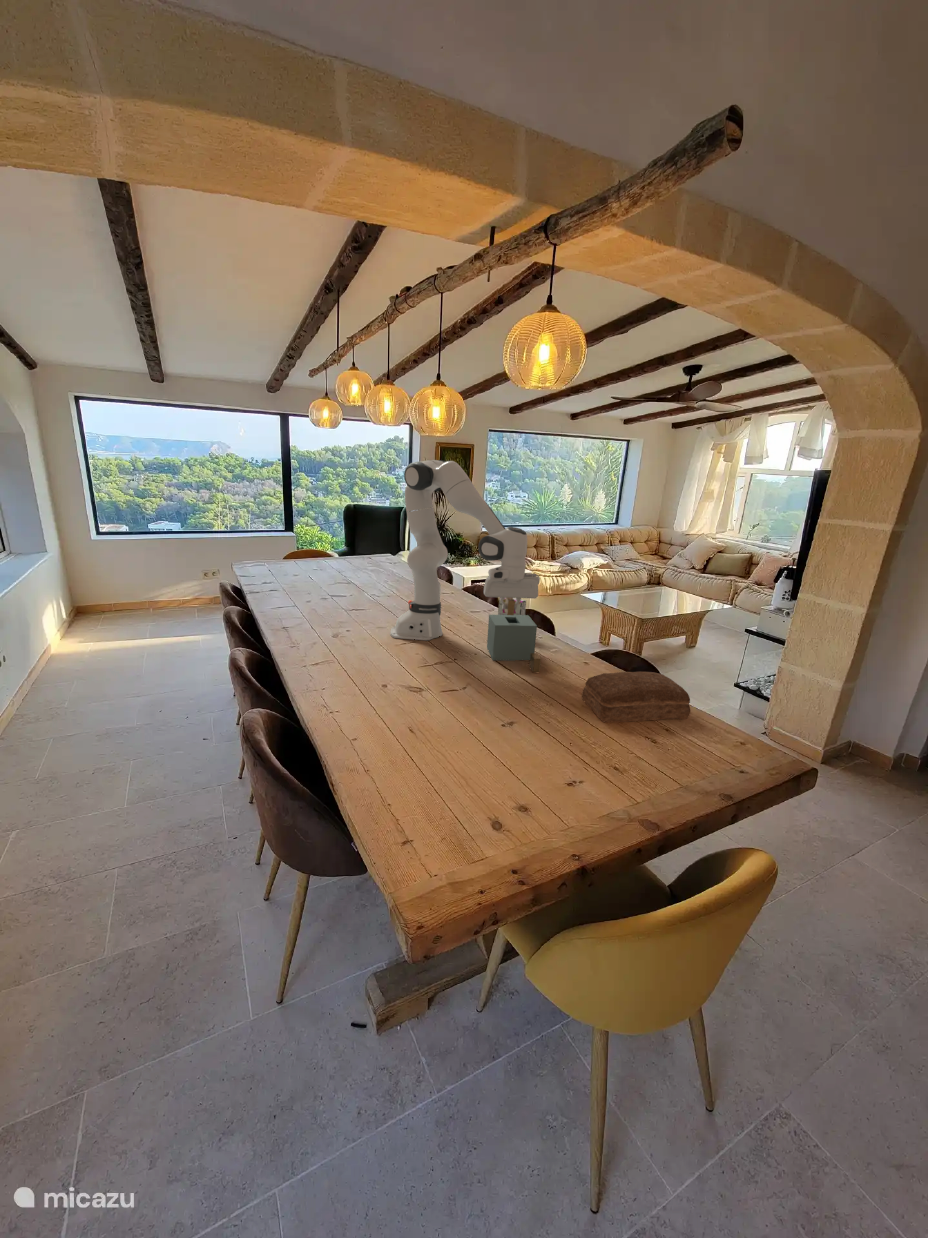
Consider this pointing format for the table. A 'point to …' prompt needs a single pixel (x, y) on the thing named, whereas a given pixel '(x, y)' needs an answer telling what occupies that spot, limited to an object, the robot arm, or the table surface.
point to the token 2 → (535, 662)
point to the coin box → (511, 637)
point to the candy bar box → (518, 611)
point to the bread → (635, 697)
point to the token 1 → (510, 606)
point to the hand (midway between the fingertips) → (509, 608)
